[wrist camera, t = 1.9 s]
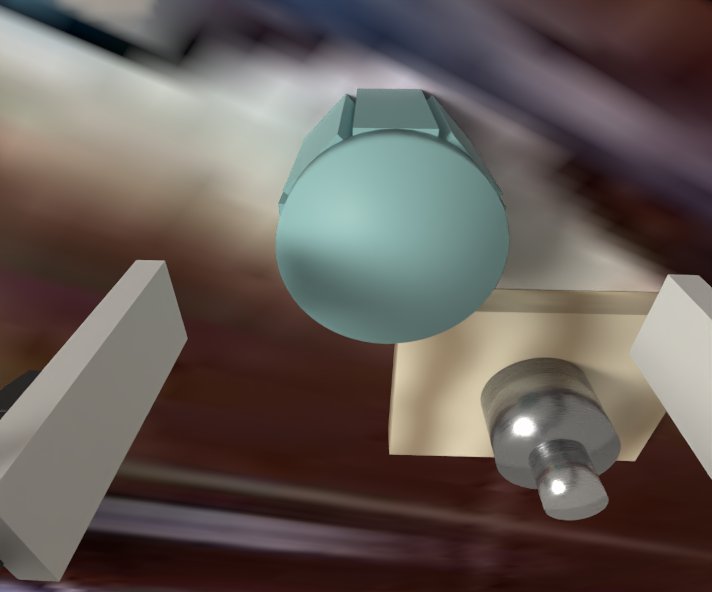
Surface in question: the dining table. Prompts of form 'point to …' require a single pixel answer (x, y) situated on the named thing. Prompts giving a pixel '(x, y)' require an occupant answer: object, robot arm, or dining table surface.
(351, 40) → the dining table surface
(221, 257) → the dining table surface
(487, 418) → the knobbed metal weight
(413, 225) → the cap
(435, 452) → the board
